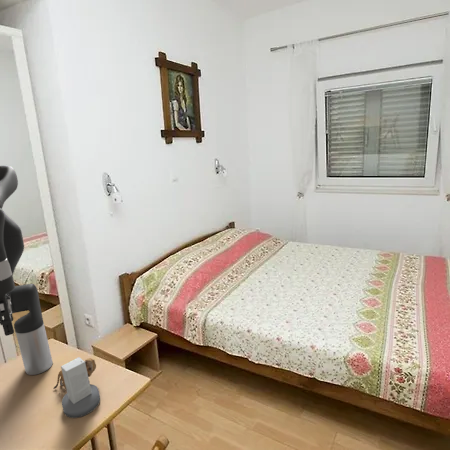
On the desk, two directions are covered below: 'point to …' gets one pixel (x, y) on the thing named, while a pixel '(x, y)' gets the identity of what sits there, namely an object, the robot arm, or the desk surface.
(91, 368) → the lion figurine
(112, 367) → the desk surface
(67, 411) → the grey rounded flat disc
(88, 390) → the skincare box
